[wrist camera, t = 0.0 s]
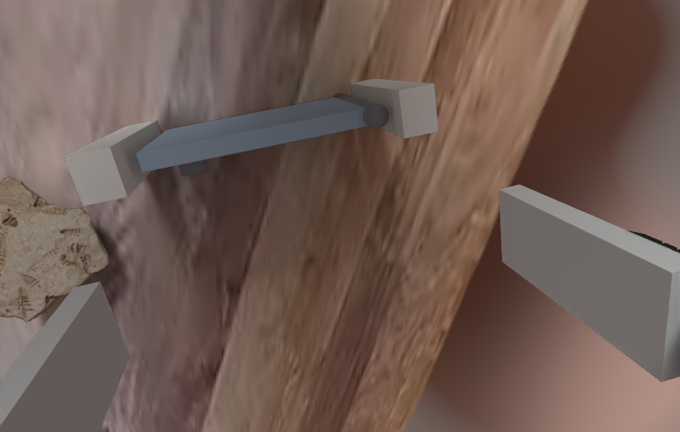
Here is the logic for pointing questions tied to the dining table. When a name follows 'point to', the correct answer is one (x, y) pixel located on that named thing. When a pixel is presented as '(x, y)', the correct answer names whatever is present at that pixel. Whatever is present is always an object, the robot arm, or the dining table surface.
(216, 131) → the door
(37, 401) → the robot arm
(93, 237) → the stone
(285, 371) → the dining table surface
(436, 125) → the pair of grey bars
